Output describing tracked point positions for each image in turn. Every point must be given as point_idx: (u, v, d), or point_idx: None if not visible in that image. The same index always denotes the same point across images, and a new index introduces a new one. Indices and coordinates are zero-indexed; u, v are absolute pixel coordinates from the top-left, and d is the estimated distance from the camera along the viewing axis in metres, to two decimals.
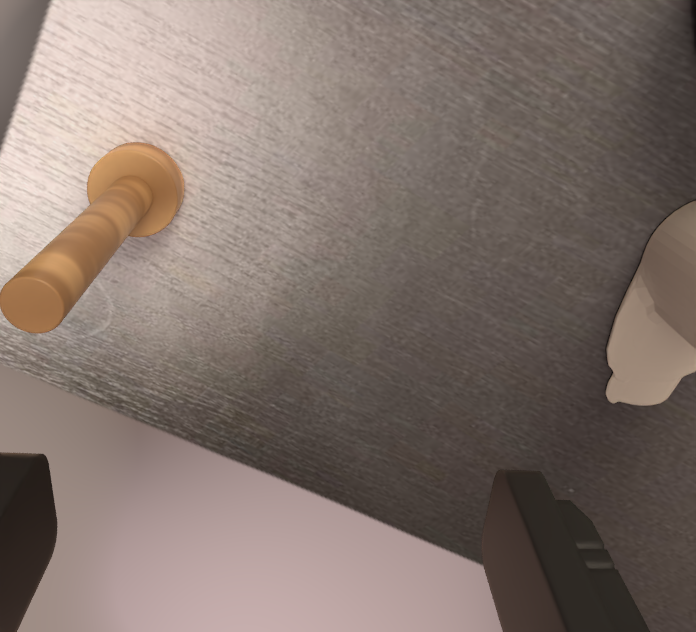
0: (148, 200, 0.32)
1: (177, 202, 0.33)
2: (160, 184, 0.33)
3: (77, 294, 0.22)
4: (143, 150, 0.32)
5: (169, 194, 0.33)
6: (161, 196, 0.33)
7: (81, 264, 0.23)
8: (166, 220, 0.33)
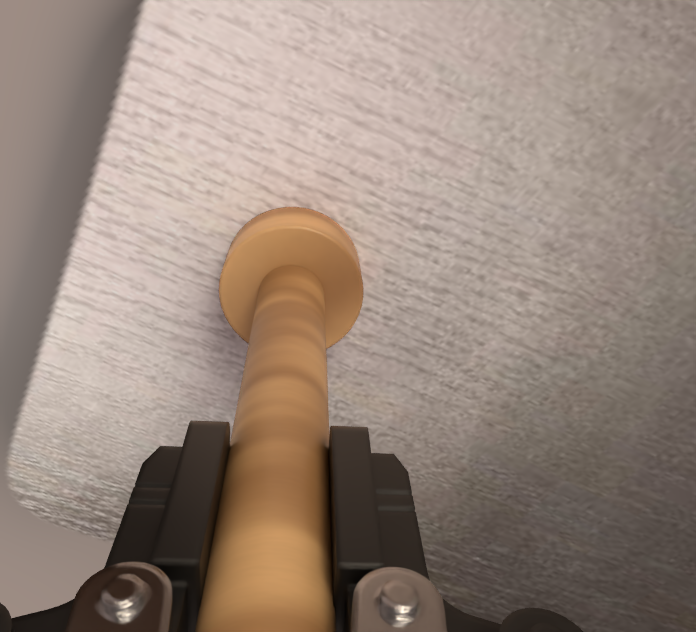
0: (324, 305, 0.19)
1: (362, 299, 0.21)
2: (336, 274, 0.20)
3: (334, 620, 0.10)
4: (307, 222, 0.20)
5: (350, 288, 0.20)
6: (338, 293, 0.20)
7: (323, 536, 0.10)
8: (344, 328, 0.21)
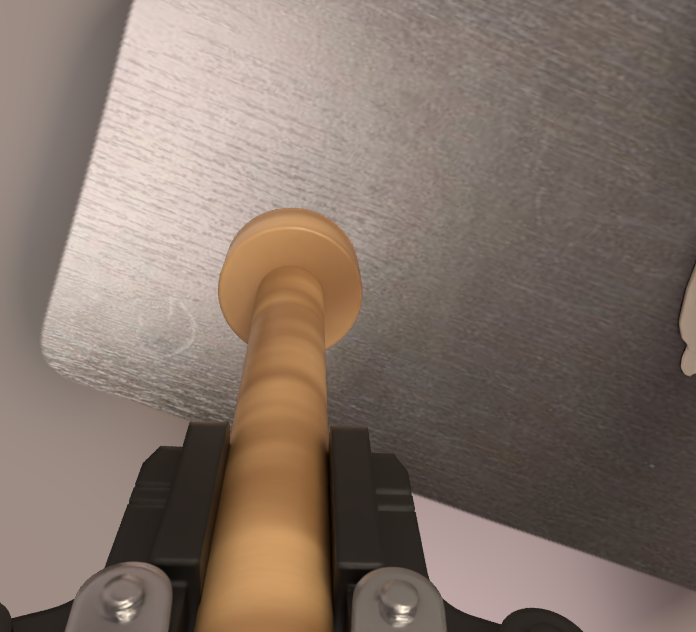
0: (323, 306, 0.19)
1: (361, 300, 0.21)
2: (335, 275, 0.20)
3: None
4: (306, 223, 0.20)
5: (349, 289, 0.20)
6: (337, 294, 0.20)
7: (322, 538, 0.10)
8: (343, 329, 0.21)
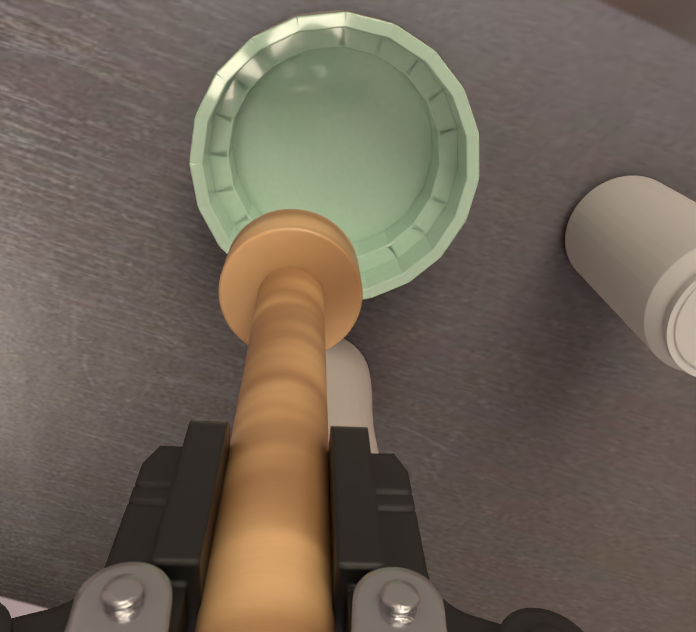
0: (324, 307, 0.19)
1: (361, 301, 0.21)
2: (336, 276, 0.20)
3: None
4: (306, 224, 0.20)
5: (350, 290, 0.20)
6: (338, 295, 0.20)
7: (322, 539, 0.10)
8: (343, 330, 0.21)
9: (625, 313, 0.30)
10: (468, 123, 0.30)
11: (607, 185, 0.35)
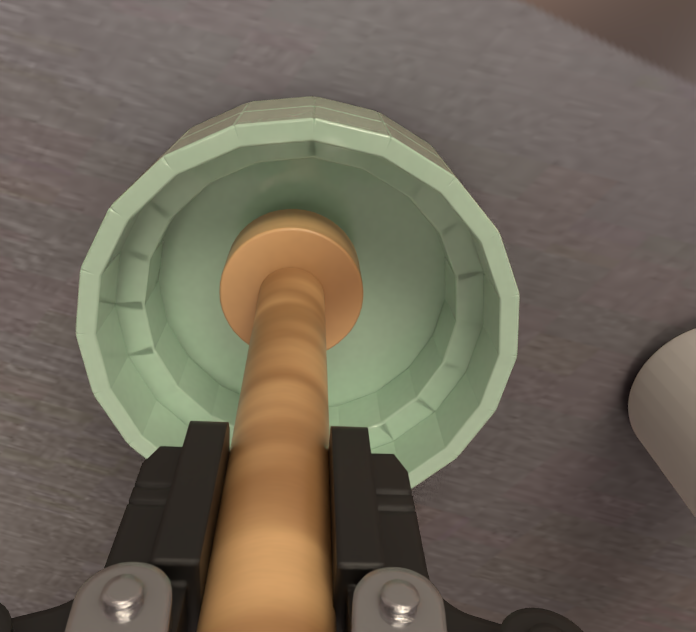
0: (324, 307, 0.19)
1: (362, 301, 0.21)
2: (337, 276, 0.20)
3: None
4: (307, 224, 0.20)
5: (350, 290, 0.20)
6: (338, 295, 0.20)
7: (323, 539, 0.10)
8: (344, 330, 0.21)
9: None
10: (503, 280, 0.19)
11: (692, 338, 0.25)
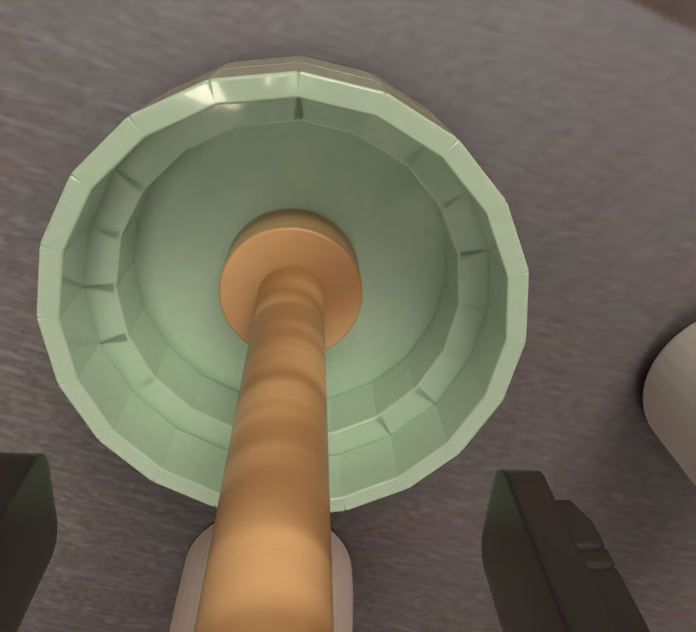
0: (323, 306, 0.19)
1: (361, 300, 0.21)
2: (336, 275, 0.20)
3: (332, 620, 0.10)
4: (306, 223, 0.20)
5: (349, 289, 0.20)
6: (337, 294, 0.20)
7: (322, 536, 0.11)
8: (343, 329, 0.21)
9: None
10: (511, 255, 0.17)
11: None
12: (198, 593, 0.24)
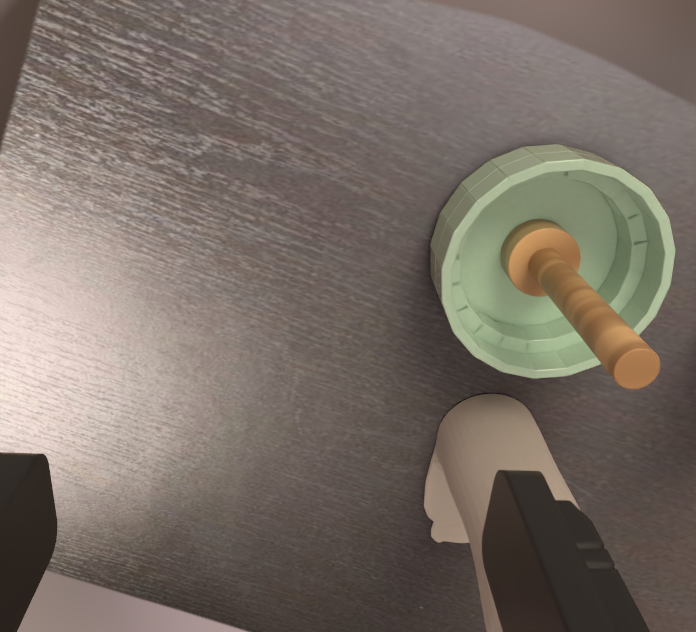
0: None
1: (578, 266, 0.40)
2: (569, 253, 0.40)
3: None
4: (555, 226, 0.39)
5: (574, 260, 0.40)
6: (568, 263, 0.40)
7: None
8: None
9: None
10: (668, 242, 0.37)
11: None
12: (469, 431, 0.44)
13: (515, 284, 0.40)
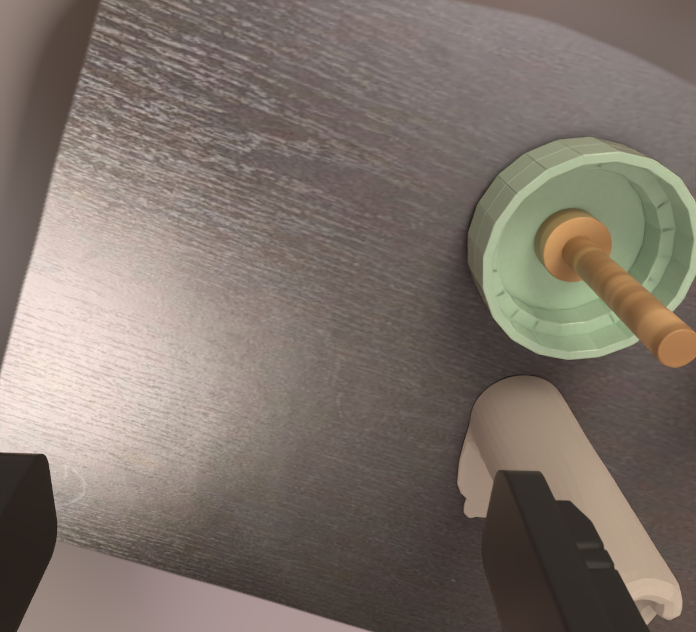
0: None
1: (609, 253, 0.42)
2: (601, 240, 0.42)
3: None
4: (588, 215, 0.42)
5: (606, 247, 0.42)
6: None
7: (674, 315, 0.32)
8: None
9: None
10: None
11: None
12: (504, 411, 0.46)
13: (549, 270, 0.43)
